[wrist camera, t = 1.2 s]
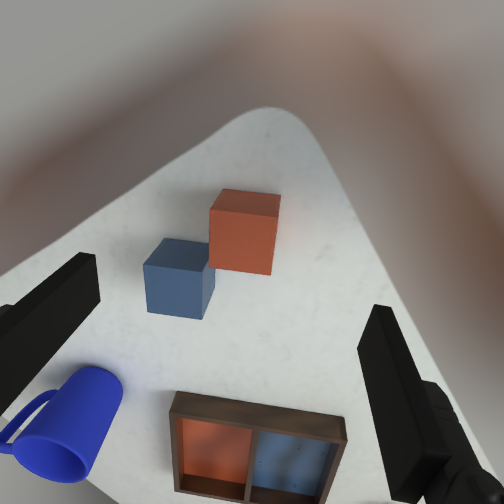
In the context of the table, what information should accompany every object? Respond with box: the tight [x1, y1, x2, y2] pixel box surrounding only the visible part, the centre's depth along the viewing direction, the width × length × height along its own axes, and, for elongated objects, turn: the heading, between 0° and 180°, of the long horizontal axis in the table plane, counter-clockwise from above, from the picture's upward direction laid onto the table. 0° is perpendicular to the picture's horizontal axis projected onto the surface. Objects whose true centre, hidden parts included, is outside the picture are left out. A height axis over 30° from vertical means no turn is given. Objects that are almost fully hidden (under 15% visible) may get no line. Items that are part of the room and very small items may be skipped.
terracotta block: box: [209, 189, 281, 275], centre depth 27 cm, size 5×5×5 cm
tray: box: [169, 391, 348, 504], centre depth 44 cm, size 21×18×3 cm
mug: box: [0, 367, 123, 483], centre depth 38 cm, size 8×12×10 cm
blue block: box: [143, 239, 215, 320], centre depth 30 cm, size 5×5×5 cm
